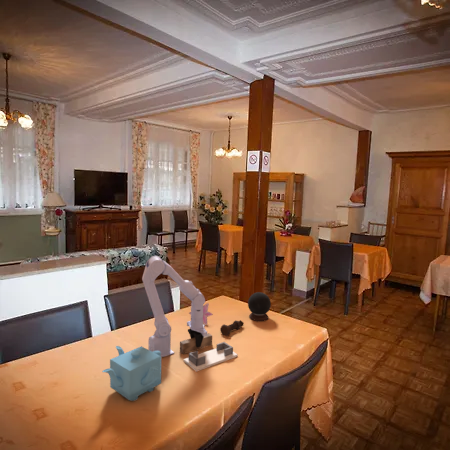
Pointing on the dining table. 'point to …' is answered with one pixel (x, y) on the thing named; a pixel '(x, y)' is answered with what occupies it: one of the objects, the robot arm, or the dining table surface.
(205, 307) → the lily
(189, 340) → the slat
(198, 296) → the robot arm
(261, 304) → the black ball on stand
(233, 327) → the bolt
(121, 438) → the dining table surface
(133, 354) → the blue cube teapot
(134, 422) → the dining table surface
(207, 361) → the board
